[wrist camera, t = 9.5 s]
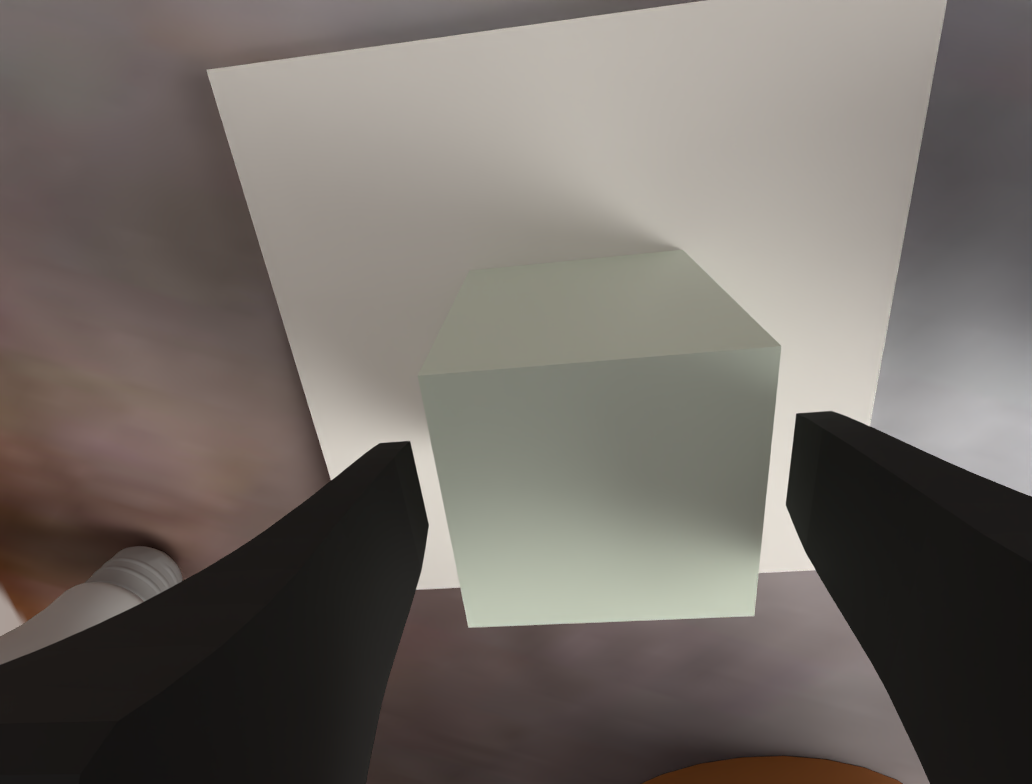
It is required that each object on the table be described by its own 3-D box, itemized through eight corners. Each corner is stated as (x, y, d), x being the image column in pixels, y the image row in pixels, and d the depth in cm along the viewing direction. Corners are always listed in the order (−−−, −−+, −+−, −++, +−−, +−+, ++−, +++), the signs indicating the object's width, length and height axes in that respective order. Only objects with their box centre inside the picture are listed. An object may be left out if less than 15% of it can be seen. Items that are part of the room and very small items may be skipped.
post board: (918, -22, 12) (1217, -132, 7) (827, 543, 19) (940, 716, 14) (232, 73, 14) (25, 45, 8) (374, 567, 21) (312, 731, 15)
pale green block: (682, 249, 14) (781, 346, 8) (678, 435, 16) (754, 615, 11) (469, 270, 15) (417, 375, 9) (495, 448, 17) (468, 627, 11)
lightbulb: (133, 627, 23) (-179, 1015, 13) (43, 507, 20) (-431, 877, 10) (269, 604, 22) (44, 1004, 12) (193, 476, 19) (-172, 848, 10)
